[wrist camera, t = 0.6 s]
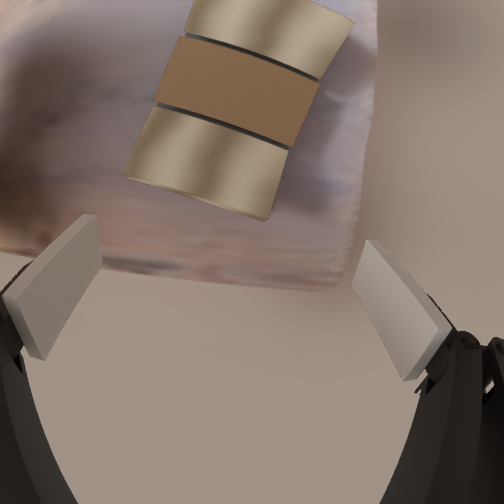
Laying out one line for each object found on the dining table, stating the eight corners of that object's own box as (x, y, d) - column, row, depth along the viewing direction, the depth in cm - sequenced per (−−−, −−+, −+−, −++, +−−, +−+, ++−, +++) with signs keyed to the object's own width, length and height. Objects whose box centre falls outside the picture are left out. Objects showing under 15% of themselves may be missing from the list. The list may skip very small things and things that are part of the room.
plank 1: (190, 28, 20) (183, 31, 19) (212, -31, 15) (205, -31, 13) (318, 73, 23) (320, 79, 22) (351, 20, 18) (355, 23, 16)
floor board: (141, 169, 29) (131, 177, 26) (215, -14, 19) (213, -27, 16) (258, 208, 32) (260, 219, 29) (336, 30, 22) (347, 22, 19)
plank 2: (127, 178, 24) (123, 172, 22) (155, 115, 24) (153, 106, 22) (262, 221, 27) (268, 219, 25) (281, 157, 27) (288, 151, 25)
